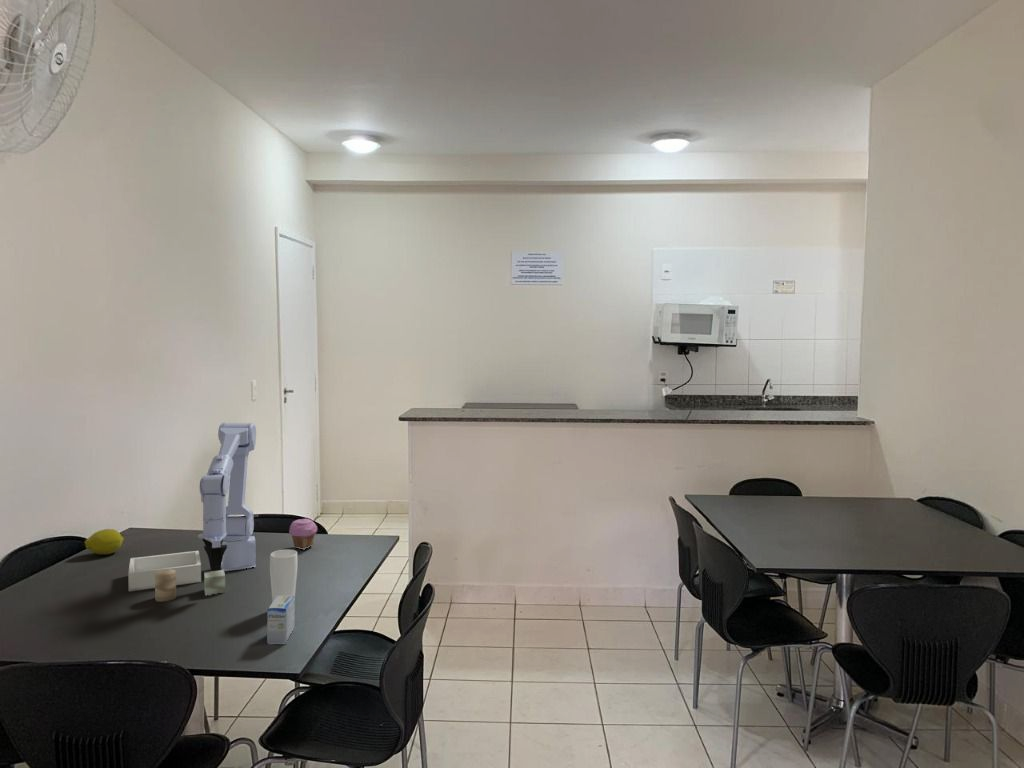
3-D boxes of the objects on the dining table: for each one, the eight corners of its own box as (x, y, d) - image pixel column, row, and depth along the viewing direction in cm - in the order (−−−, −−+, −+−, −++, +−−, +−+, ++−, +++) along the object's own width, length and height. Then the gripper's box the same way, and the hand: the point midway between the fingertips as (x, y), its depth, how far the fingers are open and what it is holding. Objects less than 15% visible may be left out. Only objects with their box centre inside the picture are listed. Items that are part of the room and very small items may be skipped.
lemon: (122, 548, 218) (122, 524, 217) (126, 554, 211) (126, 530, 211) (83, 554, 211) (83, 529, 211) (86, 560, 205) (85, 535, 204)
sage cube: (223, 587, 187) (223, 569, 186) (225, 593, 182) (225, 575, 182) (204, 589, 184) (204, 572, 184) (205, 596, 180) (205, 578, 180)
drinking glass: (271, 617, 167) (271, 558, 166) (268, 607, 173) (268, 551, 172) (299, 612, 170) (299, 555, 169) (294, 603, 176) (295, 547, 175)
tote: (198, 566, 202) (198, 550, 202) (201, 581, 190) (200, 564, 190) (130, 575, 194) (130, 558, 193) (128, 591, 181) (128, 573, 181)
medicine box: (276, 630, 160) (276, 595, 160) (295, 630, 160) (295, 595, 160) (266, 645, 152) (266, 608, 152) (286, 644, 153) (286, 608, 152)
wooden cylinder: (176, 593, 181) (175, 568, 181) (176, 599, 177) (176, 574, 176) (155, 596, 179) (155, 570, 178) (155, 602, 174) (154, 576, 174)
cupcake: (305, 553, 217) (305, 523, 216) (283, 550, 220) (283, 520, 219) (322, 546, 225) (322, 517, 224) (301, 543, 228) (301, 514, 228)
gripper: (197, 512, 187) (197, 560, 187) (199, 525, 174) (199, 576, 175) (224, 510, 190) (224, 557, 191) (228, 523, 177) (228, 572, 178)
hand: (214, 566), depth 183 cm, fingers open, 7 cm apart
